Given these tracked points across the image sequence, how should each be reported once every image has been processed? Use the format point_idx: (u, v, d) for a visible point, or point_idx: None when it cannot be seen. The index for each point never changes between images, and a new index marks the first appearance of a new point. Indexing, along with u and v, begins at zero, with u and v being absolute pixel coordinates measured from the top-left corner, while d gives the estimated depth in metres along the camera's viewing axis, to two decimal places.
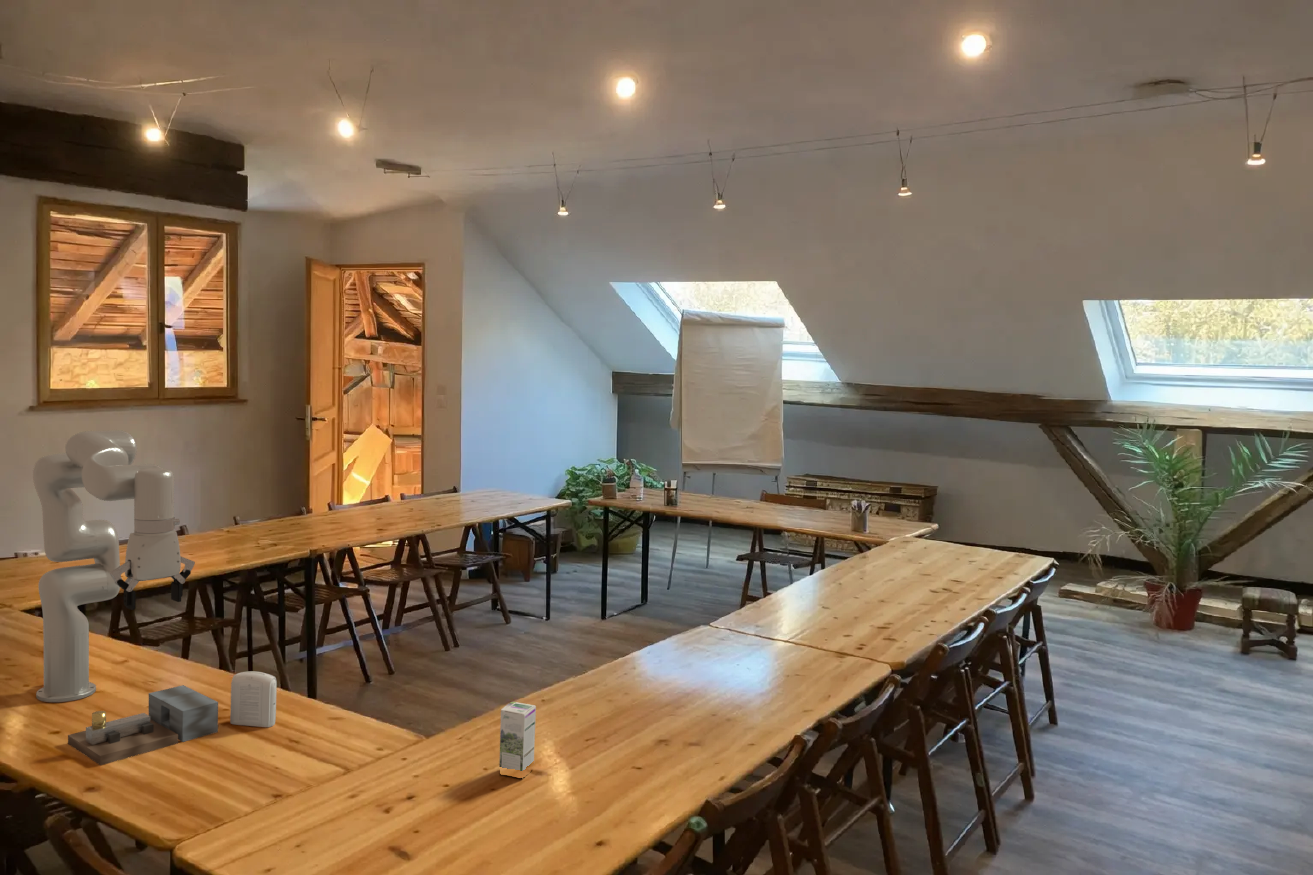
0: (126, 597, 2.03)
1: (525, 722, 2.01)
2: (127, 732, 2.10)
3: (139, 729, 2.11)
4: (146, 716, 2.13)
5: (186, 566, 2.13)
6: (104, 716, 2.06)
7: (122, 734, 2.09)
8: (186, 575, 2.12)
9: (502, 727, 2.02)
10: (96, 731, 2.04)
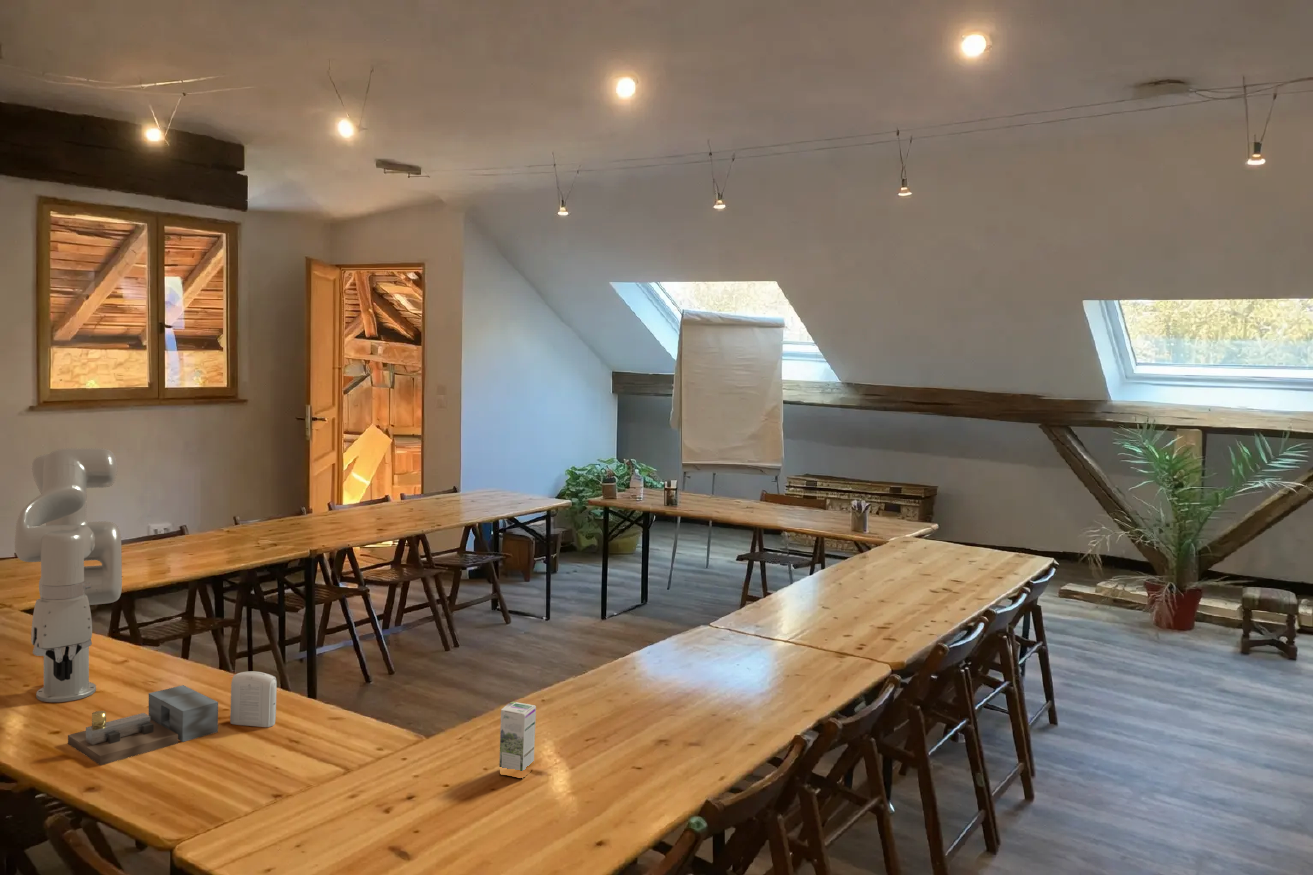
0: (56, 667, 1.97)
1: (525, 722, 2.01)
2: (127, 732, 2.10)
3: (139, 729, 2.11)
4: (146, 716, 2.13)
5: None
6: (104, 716, 2.06)
7: (122, 734, 2.09)
8: (76, 651, 2.00)
9: (502, 727, 2.02)
10: (96, 731, 2.04)
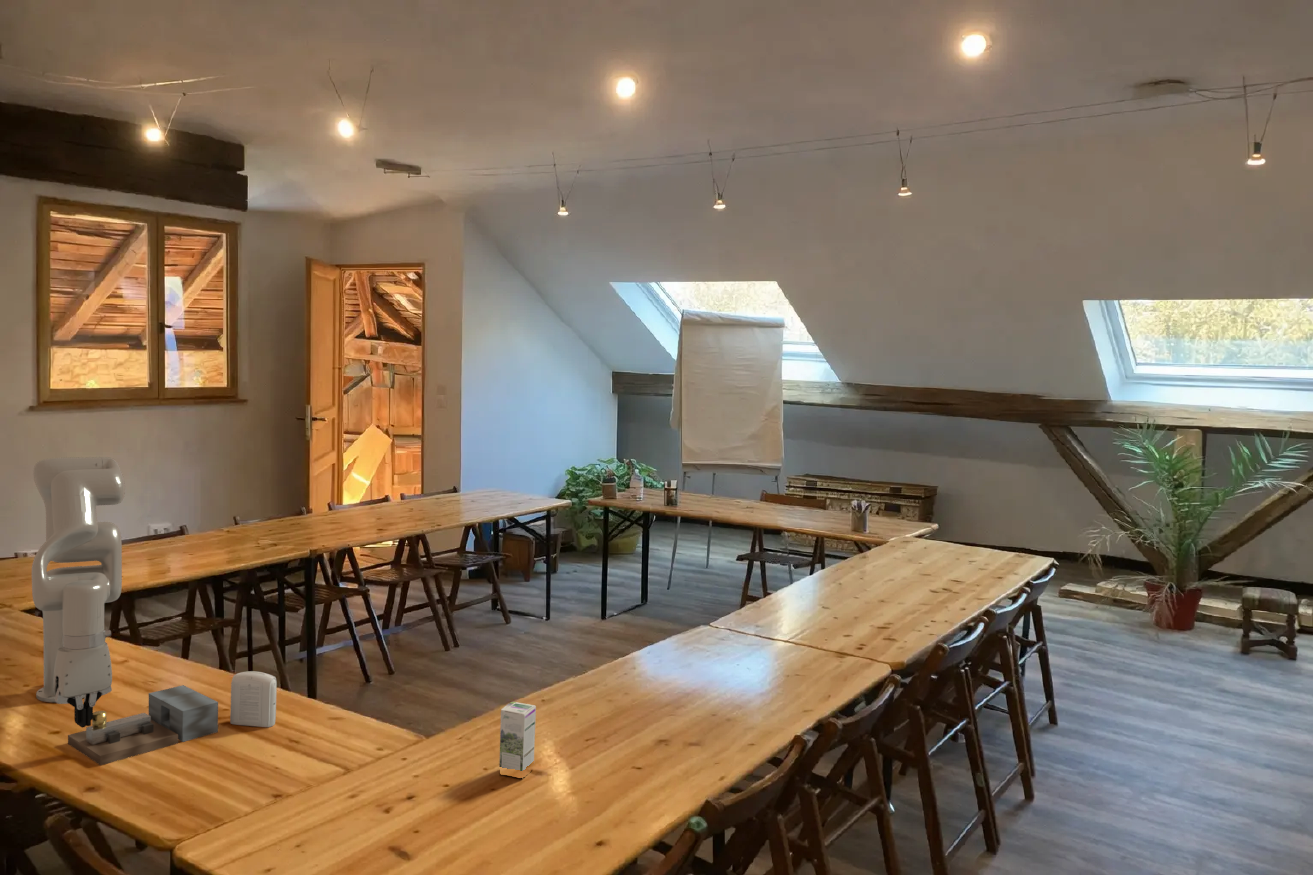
0: (77, 714, 2.02)
1: (525, 722, 2.01)
2: (128, 731, 2.10)
3: (139, 729, 2.12)
4: (146, 716, 2.13)
5: None
6: (104, 716, 2.06)
7: (122, 734, 2.09)
8: (97, 697, 2.05)
9: (502, 727, 2.02)
10: (97, 731, 2.04)
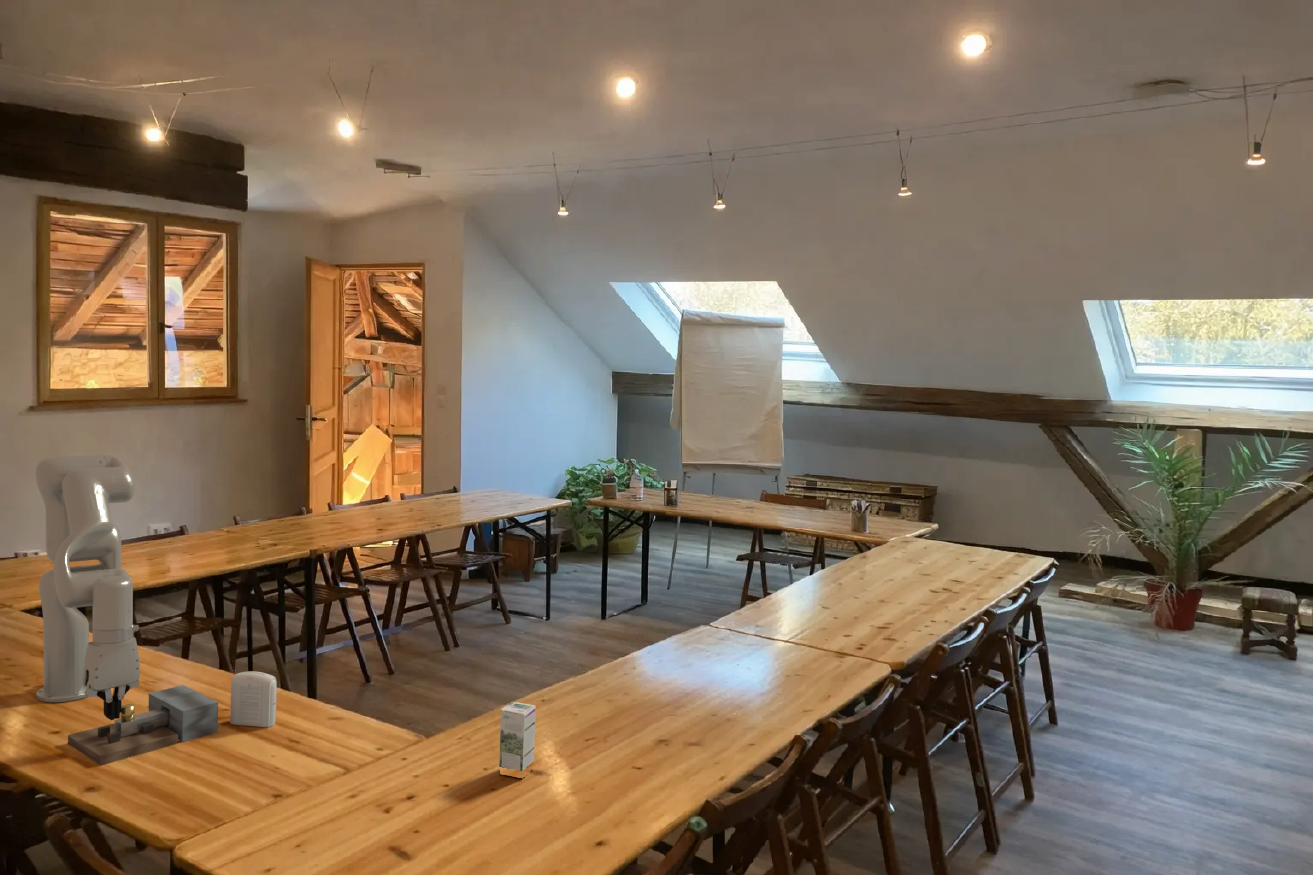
0: (106, 707, 2.06)
1: (525, 722, 2.01)
2: (155, 724, 2.14)
3: (166, 722, 2.16)
4: None
5: None
6: (133, 709, 2.10)
7: None
8: (125, 691, 2.09)
9: (502, 727, 2.02)
10: (125, 723, 2.09)
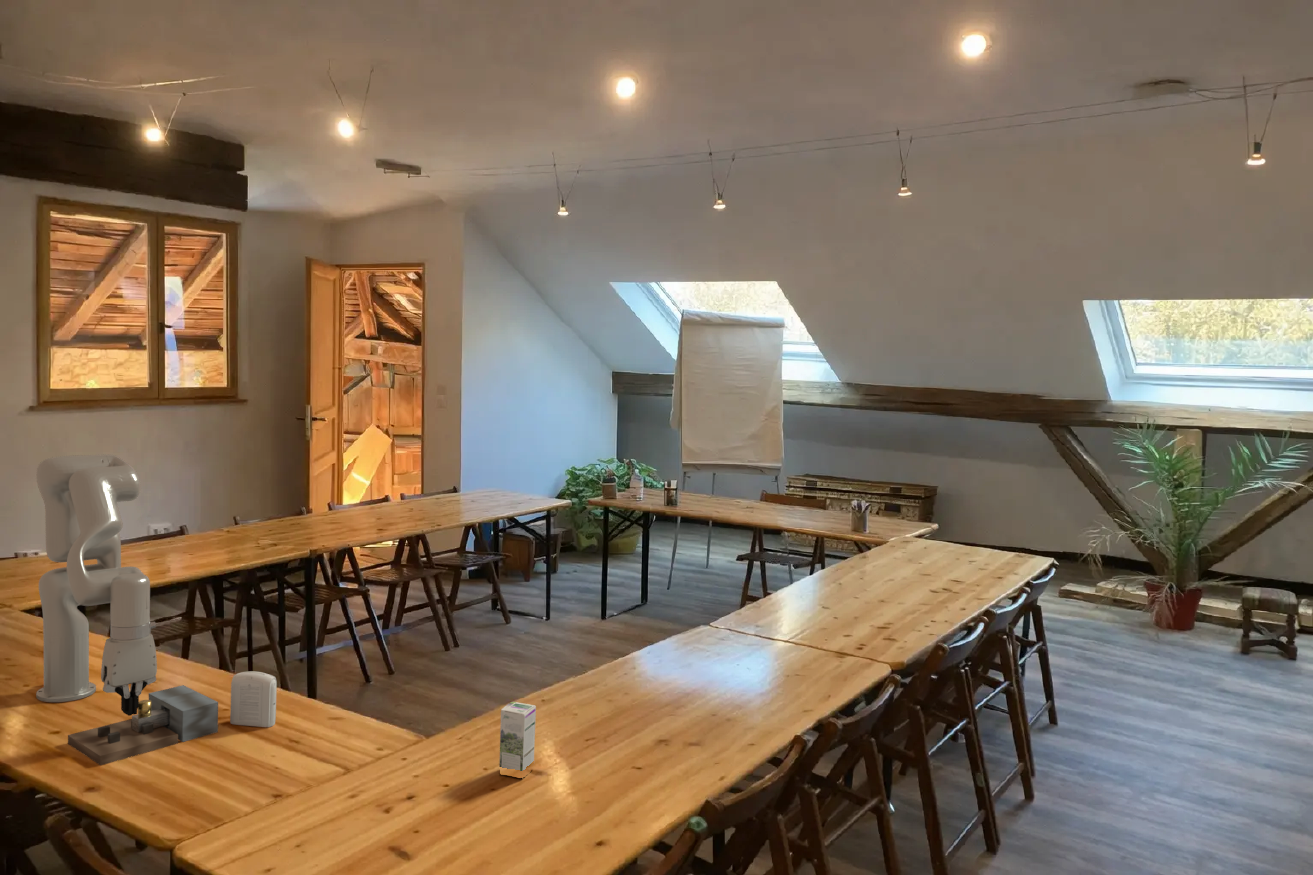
0: (124, 703, 2.09)
1: (525, 722, 2.01)
2: None
3: None
4: None
5: None
6: (150, 705, 2.13)
7: (166, 722, 2.16)
8: (142, 687, 2.12)
9: (502, 727, 2.02)
10: (142, 719, 2.12)
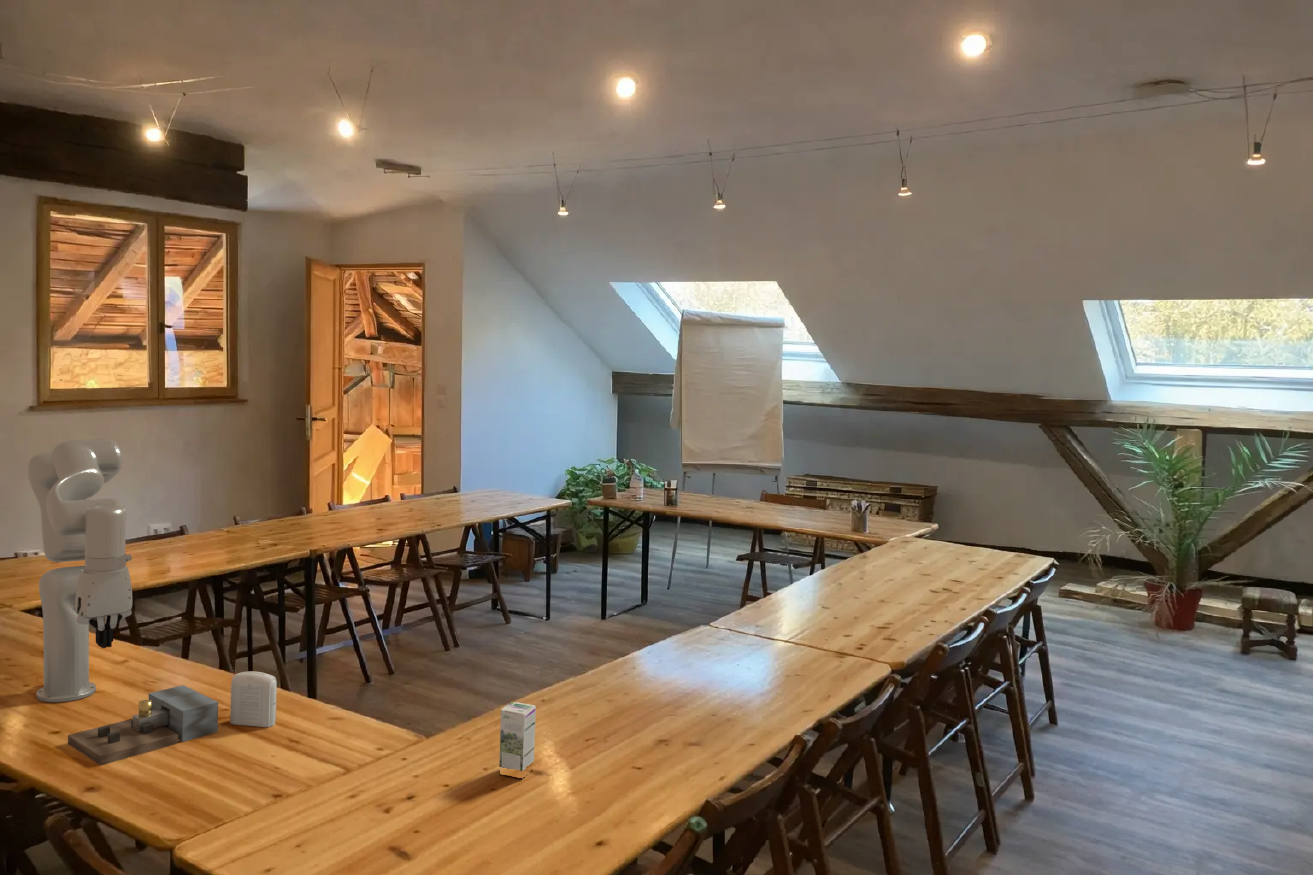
0: (98, 635, 2.06)
1: (525, 722, 2.01)
2: None
3: None
4: None
5: None
6: (150, 705, 2.13)
7: (167, 722, 2.16)
8: (117, 620, 2.09)
9: (502, 727, 2.02)
10: (143, 719, 2.12)
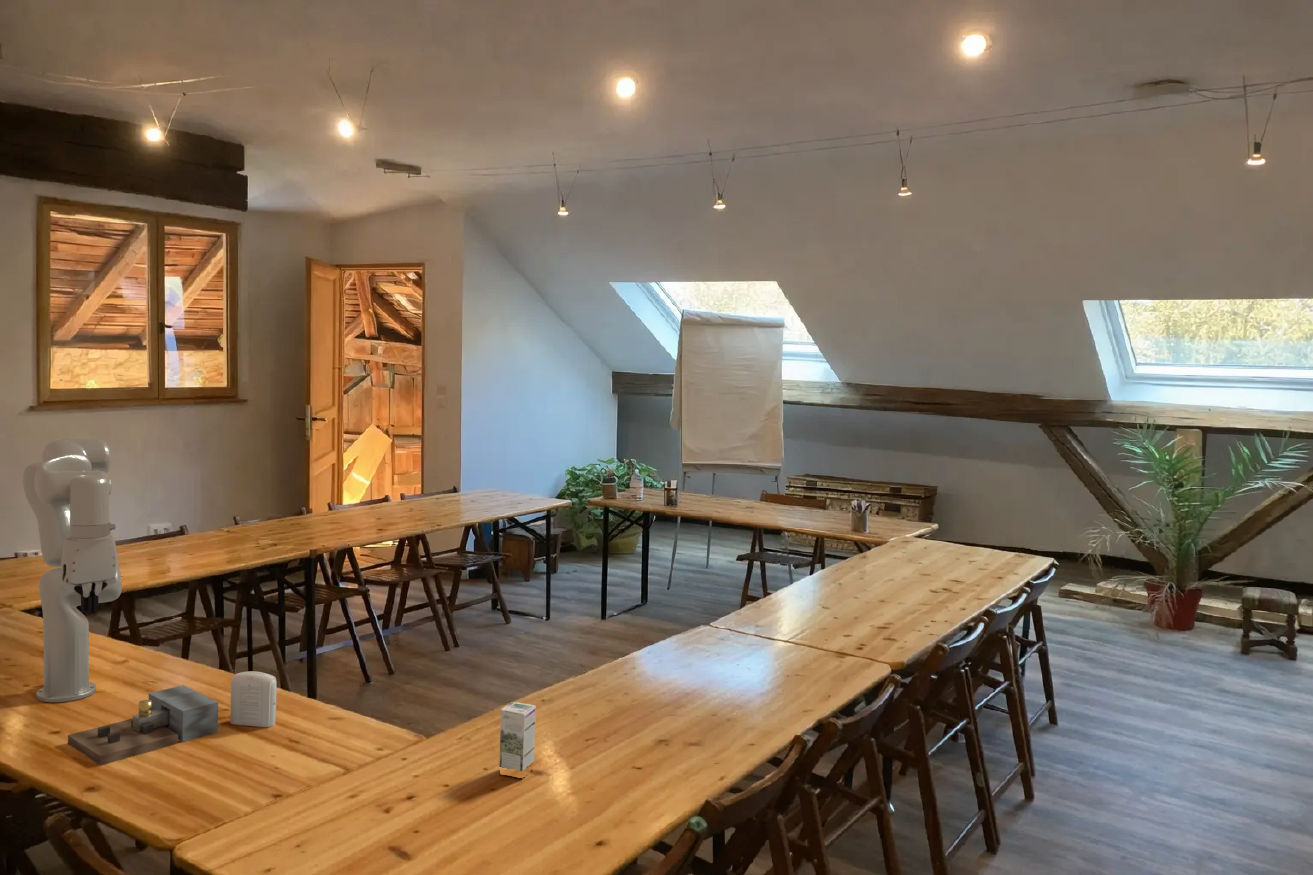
0: (83, 602, 2.12)
1: (525, 722, 2.01)
2: None
3: None
4: None
5: (107, 579, 2.16)
6: (150, 705, 2.13)
7: (167, 722, 2.16)
8: (102, 587, 2.15)
9: (502, 727, 2.02)
10: (143, 719, 2.12)
